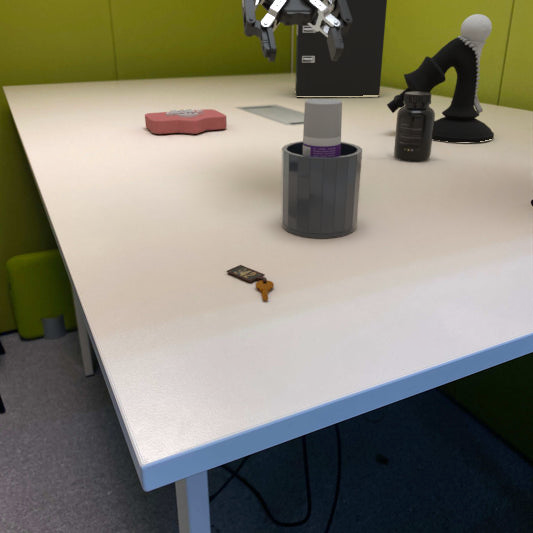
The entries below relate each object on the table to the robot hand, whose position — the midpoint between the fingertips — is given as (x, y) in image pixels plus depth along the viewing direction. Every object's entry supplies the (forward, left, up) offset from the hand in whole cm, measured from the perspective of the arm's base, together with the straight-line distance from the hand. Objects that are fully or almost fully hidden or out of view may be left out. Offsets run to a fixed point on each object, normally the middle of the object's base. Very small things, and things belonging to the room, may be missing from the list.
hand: (305, 56), depth 71 cm
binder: (-93, -75, -20) cm, 121 cm away
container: (+4, +7, -20) cm, 21 cm away
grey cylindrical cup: (+4, +7, -20) cm, 22 cm away
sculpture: (-58, -14, -20) cm, 63 cm away
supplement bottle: (-36, -6, -20) cm, 42 cm away
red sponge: (-21, -59, -20) cm, 66 cm away
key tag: (+22, +14, -20) cm, 33 cm away
